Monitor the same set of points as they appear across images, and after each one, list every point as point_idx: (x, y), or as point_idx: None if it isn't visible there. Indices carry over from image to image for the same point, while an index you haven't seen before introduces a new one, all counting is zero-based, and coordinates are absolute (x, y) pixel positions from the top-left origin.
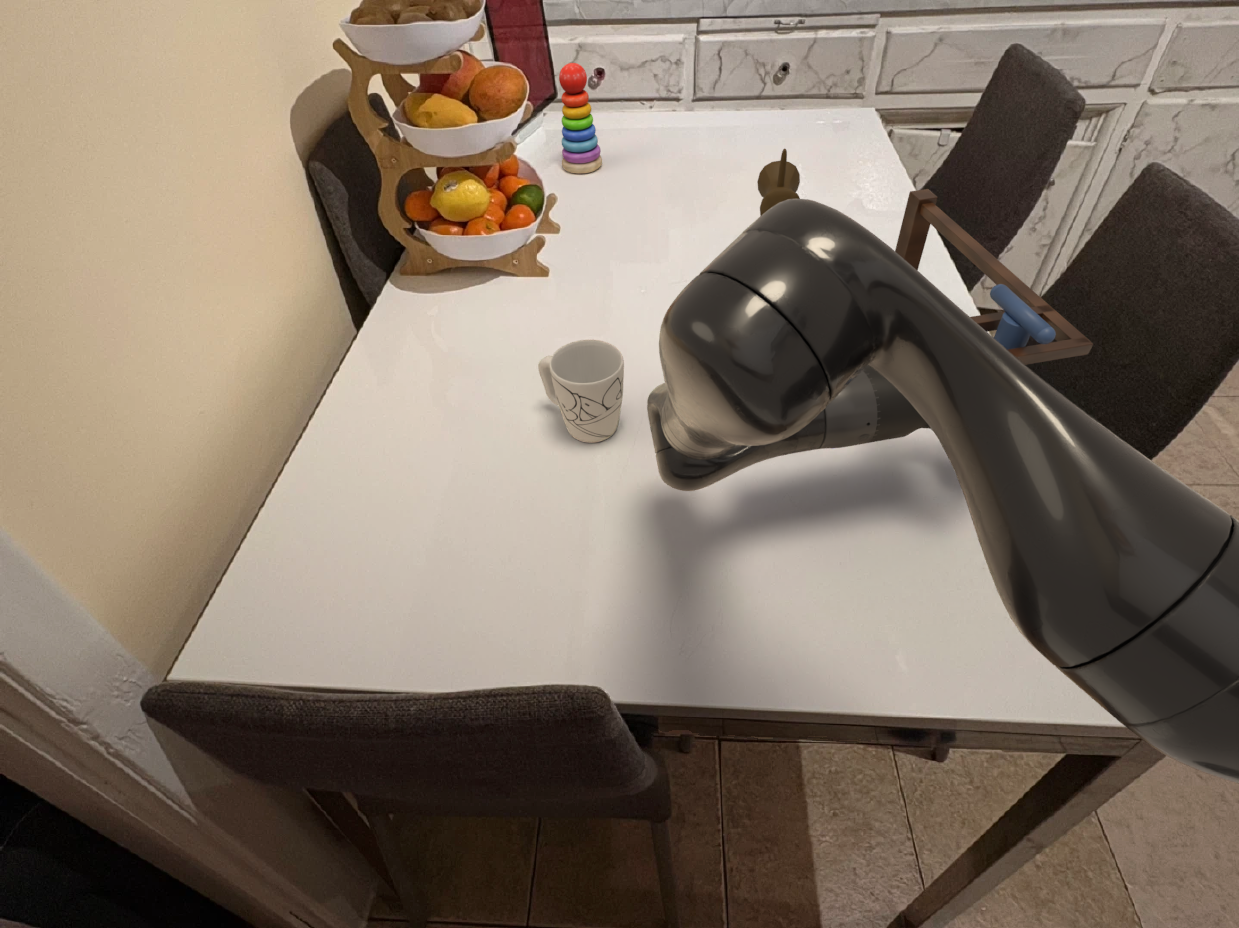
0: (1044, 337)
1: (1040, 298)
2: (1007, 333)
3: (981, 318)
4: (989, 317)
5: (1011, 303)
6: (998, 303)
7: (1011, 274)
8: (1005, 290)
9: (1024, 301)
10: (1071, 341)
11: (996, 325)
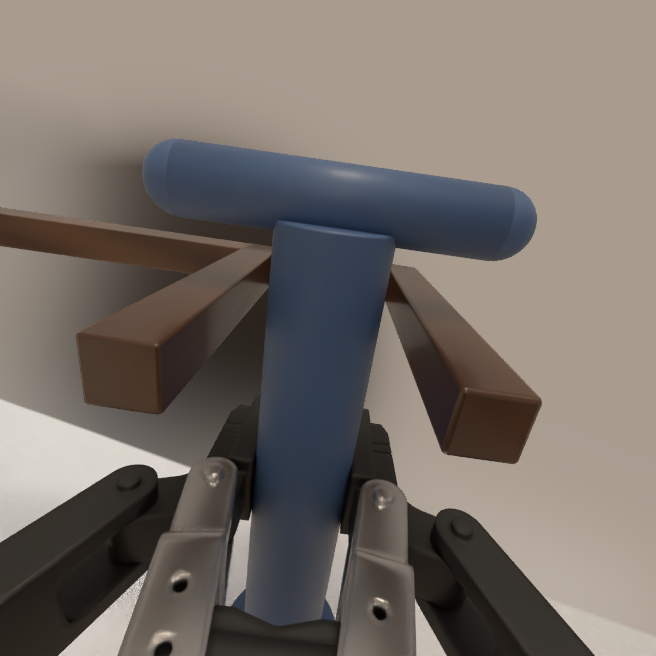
0: (535, 219)
1: (221, 240)
2: (361, 286)
3: (184, 294)
4: (203, 284)
5: (295, 169)
6: (225, 201)
7: (101, 223)
8: (216, 146)
9: (198, 253)
10: (401, 273)
11: (235, 306)
